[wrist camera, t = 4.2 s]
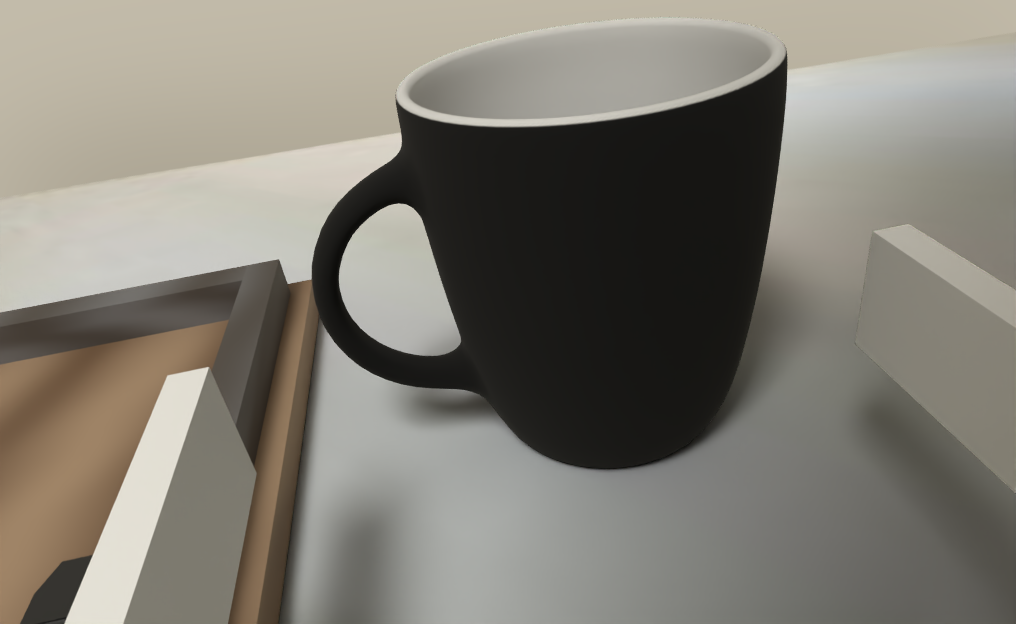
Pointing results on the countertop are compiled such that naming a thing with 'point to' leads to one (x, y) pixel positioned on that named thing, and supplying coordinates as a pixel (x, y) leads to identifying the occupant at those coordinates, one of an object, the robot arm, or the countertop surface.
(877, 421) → the countertop surface
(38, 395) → the wooden tray
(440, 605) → the countertop surface
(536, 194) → the mug
